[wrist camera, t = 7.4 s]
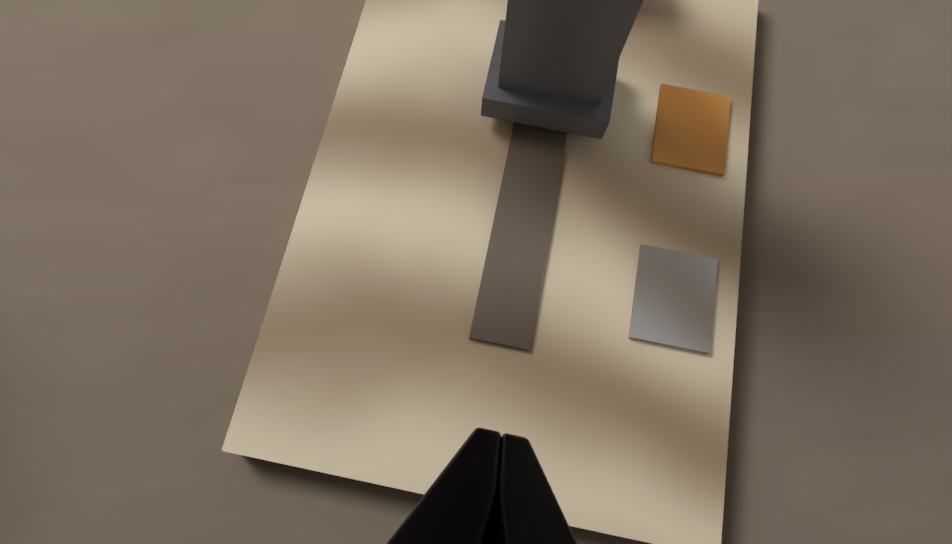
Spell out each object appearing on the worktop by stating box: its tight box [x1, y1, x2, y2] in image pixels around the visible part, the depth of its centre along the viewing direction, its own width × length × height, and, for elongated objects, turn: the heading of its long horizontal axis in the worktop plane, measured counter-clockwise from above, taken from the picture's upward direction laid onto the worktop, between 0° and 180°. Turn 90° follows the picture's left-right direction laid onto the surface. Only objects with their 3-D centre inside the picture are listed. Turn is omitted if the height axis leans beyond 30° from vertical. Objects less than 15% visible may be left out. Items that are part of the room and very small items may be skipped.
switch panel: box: [222, 0, 758, 544], centre depth 18 cm, size 20×14×4 cm
